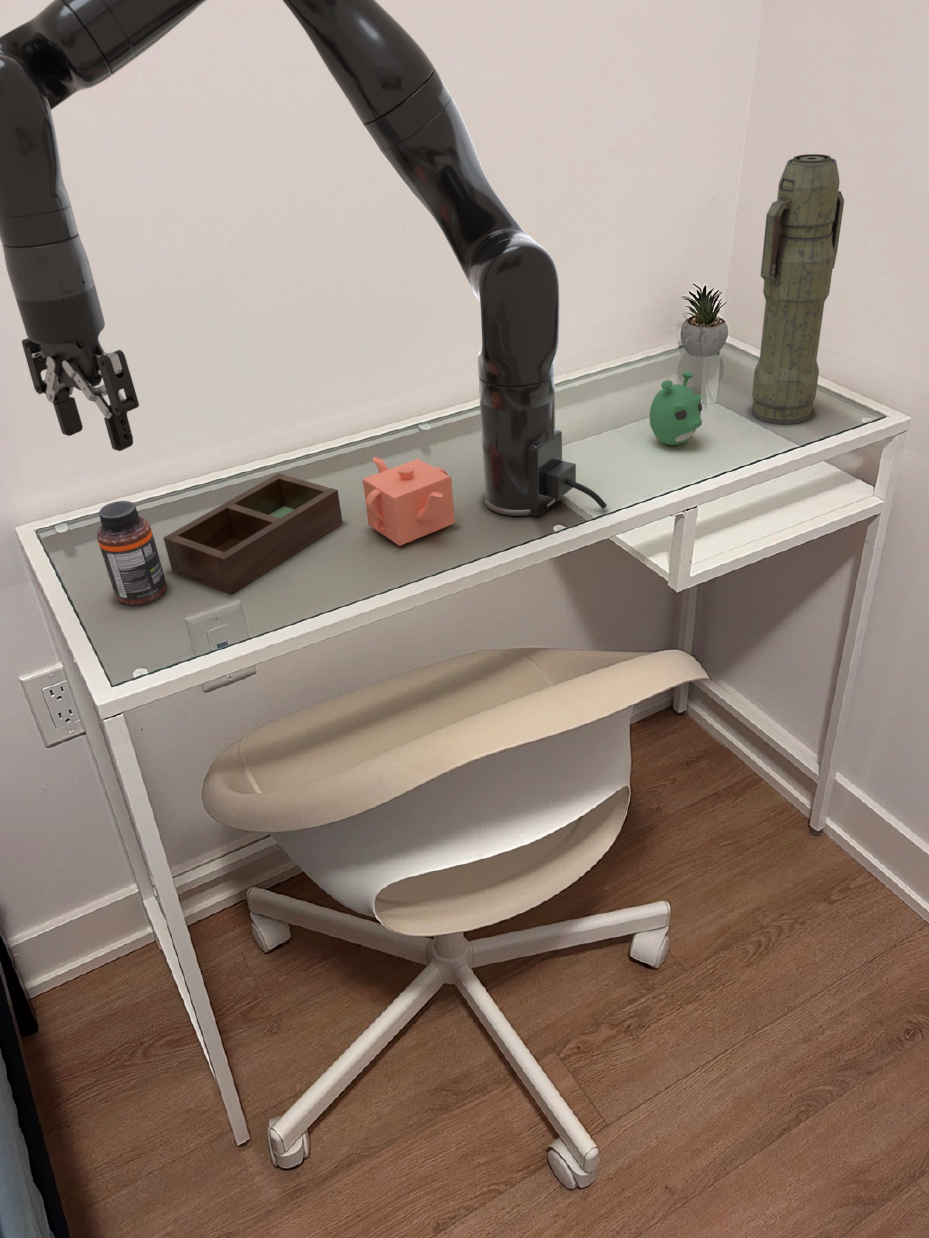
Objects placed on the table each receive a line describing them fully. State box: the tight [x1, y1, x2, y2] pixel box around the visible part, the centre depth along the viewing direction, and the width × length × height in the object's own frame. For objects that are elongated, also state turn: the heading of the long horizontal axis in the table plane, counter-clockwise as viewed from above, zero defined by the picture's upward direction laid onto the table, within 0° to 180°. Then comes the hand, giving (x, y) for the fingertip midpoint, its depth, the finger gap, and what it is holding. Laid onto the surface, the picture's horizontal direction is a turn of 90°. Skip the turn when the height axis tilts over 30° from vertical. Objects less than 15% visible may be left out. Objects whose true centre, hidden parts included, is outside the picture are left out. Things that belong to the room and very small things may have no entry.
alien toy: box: [649, 370, 703, 446], centre depth 140 cm, size 7×8×10 cm
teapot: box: [362, 456, 456, 547], centre depth 125 cm, size 12×15×8 cm
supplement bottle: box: [96, 500, 167, 606], centre depth 115 cm, size 6×6×11 cm
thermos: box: [751, 153, 845, 425], centre depth 140 cm, size 9×12×35 cm
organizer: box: [162, 472, 344, 595], centre depth 124 cm, size 10×20×5 cm, turn 145°
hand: (97, 440), depth 107 cm, fingers open, 8 cm apart
